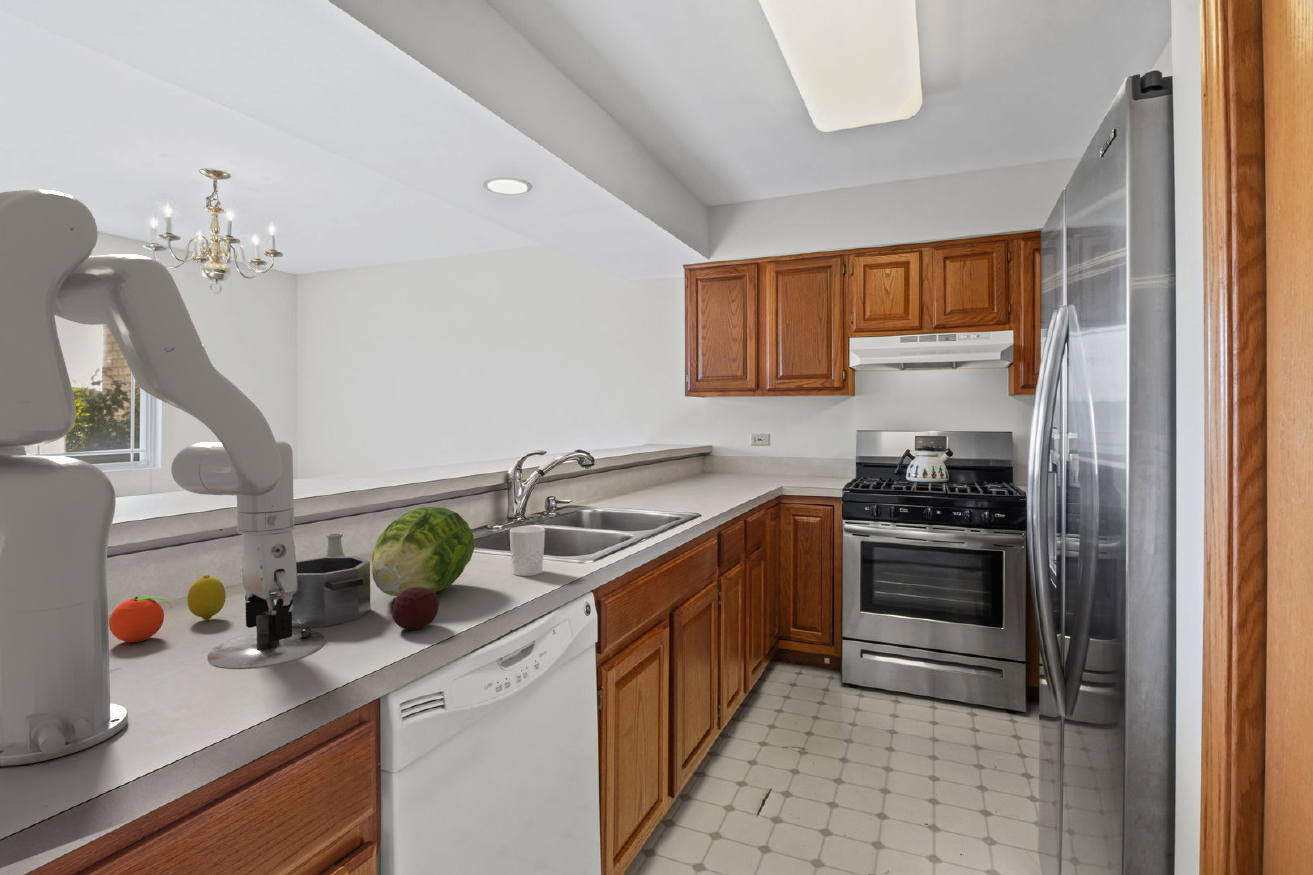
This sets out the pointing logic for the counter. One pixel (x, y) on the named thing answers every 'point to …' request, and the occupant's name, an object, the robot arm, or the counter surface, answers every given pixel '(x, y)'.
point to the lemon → (206, 597)
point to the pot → (330, 591)
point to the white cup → (527, 550)
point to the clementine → (136, 619)
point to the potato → (415, 608)
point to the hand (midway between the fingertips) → (268, 631)
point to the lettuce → (422, 551)
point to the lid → (264, 647)
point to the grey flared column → (334, 545)
